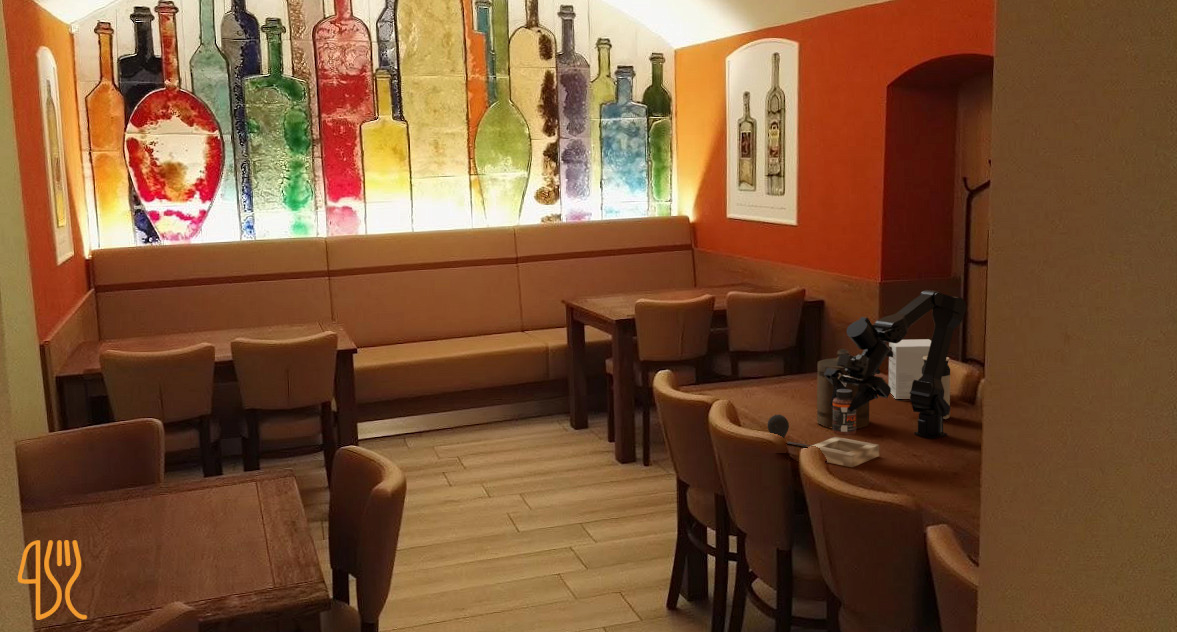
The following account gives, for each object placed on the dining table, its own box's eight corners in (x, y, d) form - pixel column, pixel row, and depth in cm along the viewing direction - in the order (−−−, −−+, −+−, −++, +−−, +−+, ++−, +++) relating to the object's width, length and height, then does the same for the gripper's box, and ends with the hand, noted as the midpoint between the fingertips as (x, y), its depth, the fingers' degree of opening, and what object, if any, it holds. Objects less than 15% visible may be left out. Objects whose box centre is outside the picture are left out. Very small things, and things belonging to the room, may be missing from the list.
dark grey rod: (824, 450, 273) (824, 447, 273) (823, 451, 272) (823, 448, 272) (783, 443, 281) (783, 440, 281) (782, 444, 280) (782, 441, 280)
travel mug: (951, 420, 299) (952, 360, 296) (922, 420, 300) (923, 360, 298) (947, 414, 306) (948, 355, 304) (919, 414, 308) (920, 355, 305)
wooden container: (851, 415, 310) (851, 343, 306) (879, 426, 296) (879, 351, 292) (807, 420, 305) (807, 347, 302) (834, 432, 291) (834, 356, 288)
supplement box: (929, 391, 337) (929, 338, 335) (938, 400, 324) (939, 345, 322) (887, 391, 339) (888, 339, 336) (895, 400, 326) (895, 346, 323)
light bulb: (765, 449, 276) (765, 413, 275) (785, 447, 277) (785, 411, 275) (770, 454, 271) (770, 418, 269) (791, 453, 271) (791, 416, 270)
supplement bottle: (849, 437, 261) (849, 394, 259) (828, 434, 265) (828, 391, 263) (860, 432, 266) (860, 389, 264) (839, 428, 269) (838, 386, 268)
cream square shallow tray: (835, 447, 275) (835, 436, 275) (878, 456, 266) (879, 444, 266) (807, 458, 266) (807, 447, 266) (851, 467, 257) (851, 455, 257)
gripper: (828, 337, 272) (798, 384, 268) (882, 346, 256) (852, 396, 252) (849, 362, 277) (820, 408, 273) (904, 372, 261) (874, 422, 257)
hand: (840, 408), depth 264 cm, fingers closed on supplement bottle, 6 cm apart
